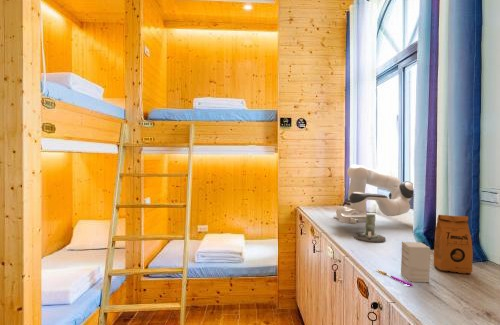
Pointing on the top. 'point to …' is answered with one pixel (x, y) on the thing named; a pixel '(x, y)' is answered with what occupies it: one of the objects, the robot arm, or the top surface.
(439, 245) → the coffee package
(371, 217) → the green cylinder with base
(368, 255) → the top surface
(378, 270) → the purple screwdriver
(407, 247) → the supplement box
